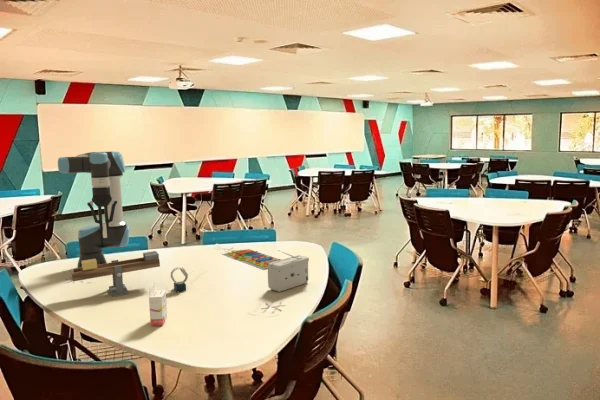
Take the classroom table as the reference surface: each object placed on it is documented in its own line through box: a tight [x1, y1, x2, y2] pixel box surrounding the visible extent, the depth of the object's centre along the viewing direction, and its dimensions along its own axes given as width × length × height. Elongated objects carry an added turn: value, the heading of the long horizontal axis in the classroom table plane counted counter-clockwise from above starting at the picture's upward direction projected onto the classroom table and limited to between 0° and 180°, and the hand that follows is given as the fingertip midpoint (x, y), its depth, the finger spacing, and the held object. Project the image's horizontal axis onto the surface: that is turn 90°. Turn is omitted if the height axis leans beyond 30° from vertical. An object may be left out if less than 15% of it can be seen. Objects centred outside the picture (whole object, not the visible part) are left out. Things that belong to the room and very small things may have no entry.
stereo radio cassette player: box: [267, 250, 310, 293], centre depth 221 cm, size 21×8×20 cm, turn 135°
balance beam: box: [70, 250, 161, 282], centre depth 217 cm, size 9×38×6 cm, turn 119°
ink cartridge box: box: [148, 283, 168, 327], centre depth 181 cm, size 9×5×15 cm, turn 5°
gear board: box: [221, 248, 282, 271], centre depth 272 cm, size 45×2×19 cm
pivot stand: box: [108, 259, 129, 298], centre depth 218 cm, size 13×7×14 cm, turn 29°
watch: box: [170, 266, 189, 293], centre depth 219 cm, size 6×8×11 cm
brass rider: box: [81, 259, 98, 271], centre depth 211 cm, size 6×6×5 cm
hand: (105, 237), depth 213 cm, fingers closed
